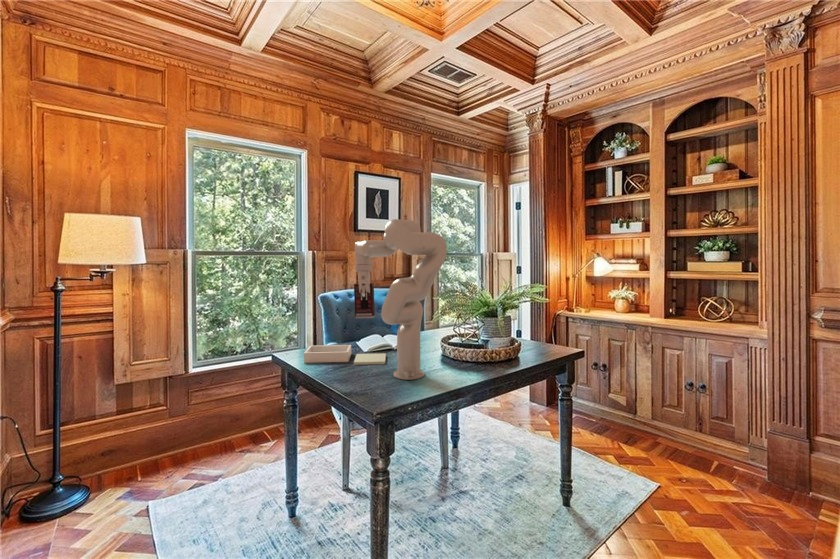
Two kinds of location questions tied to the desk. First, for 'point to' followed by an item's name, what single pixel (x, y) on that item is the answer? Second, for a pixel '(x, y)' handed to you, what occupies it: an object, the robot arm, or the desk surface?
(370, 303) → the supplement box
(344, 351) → the bin
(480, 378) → the desk surface
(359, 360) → the board
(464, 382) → the desk surface
